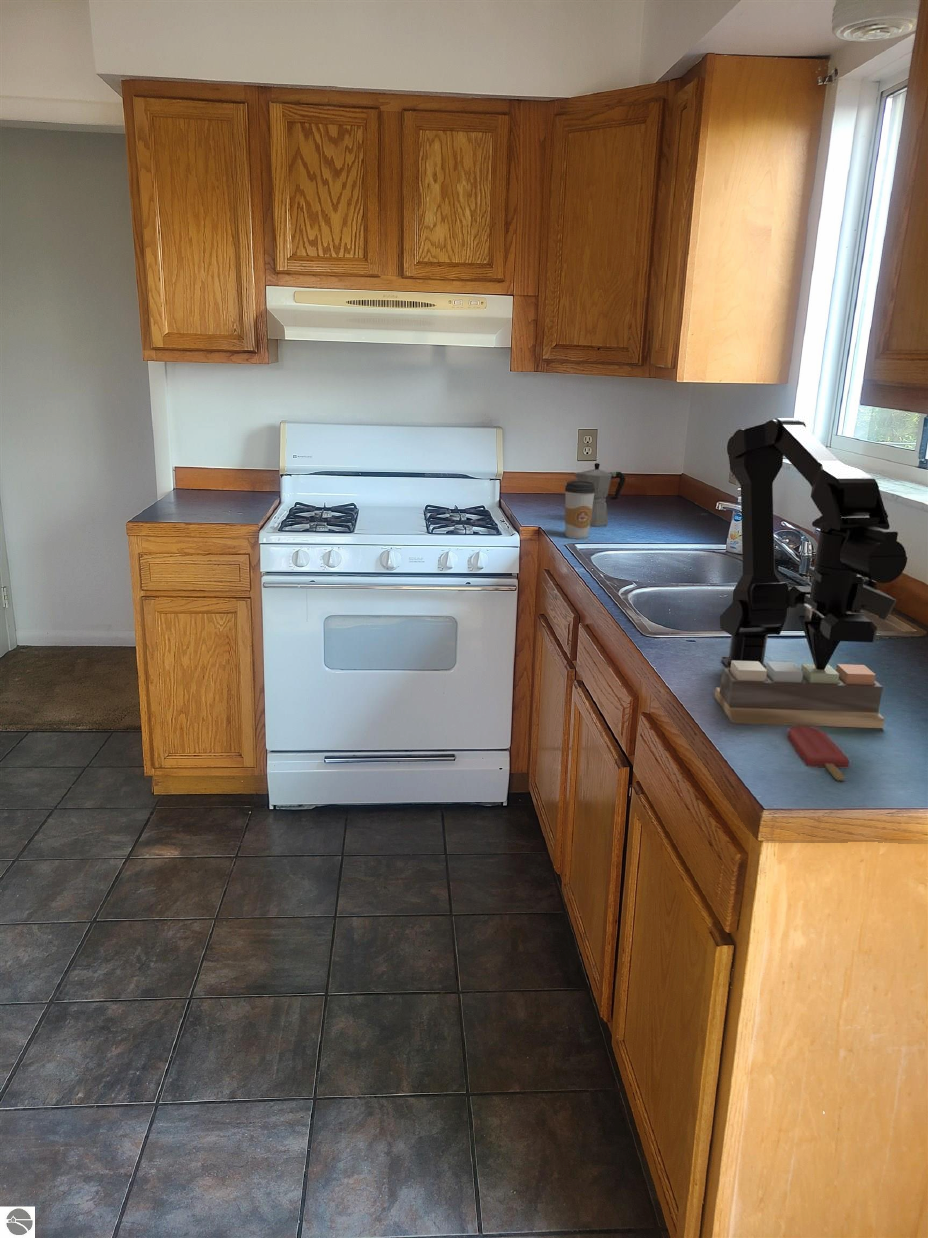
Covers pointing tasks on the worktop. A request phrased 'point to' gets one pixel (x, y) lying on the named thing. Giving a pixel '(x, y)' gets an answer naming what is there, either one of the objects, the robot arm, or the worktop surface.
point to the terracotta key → (855, 674)
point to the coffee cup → (578, 508)
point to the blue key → (784, 672)
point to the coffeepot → (601, 492)
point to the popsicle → (818, 749)
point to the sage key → (819, 674)
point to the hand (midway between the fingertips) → (819, 669)
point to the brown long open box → (800, 702)
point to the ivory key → (748, 670)
